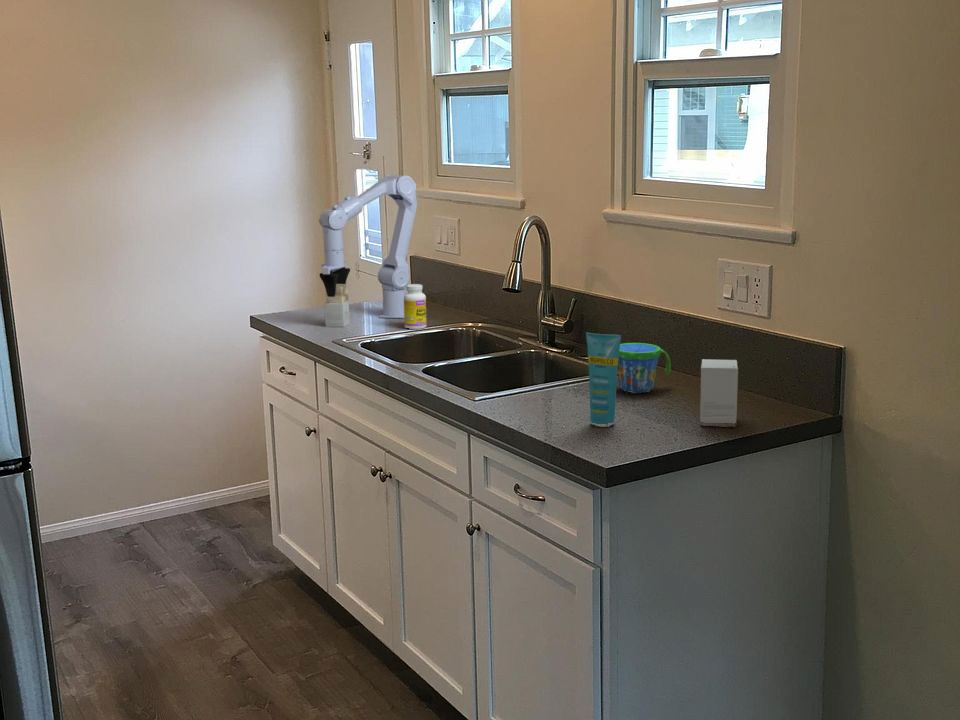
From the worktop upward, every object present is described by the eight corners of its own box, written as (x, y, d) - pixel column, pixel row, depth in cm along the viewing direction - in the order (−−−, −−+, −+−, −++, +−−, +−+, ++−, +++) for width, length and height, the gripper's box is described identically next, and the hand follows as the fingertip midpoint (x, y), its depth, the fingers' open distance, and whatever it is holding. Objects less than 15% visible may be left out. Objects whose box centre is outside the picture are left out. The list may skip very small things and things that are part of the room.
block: (332, 299, 322) (332, 283, 321) (348, 300, 321) (347, 284, 320) (326, 302, 317) (325, 286, 316) (341, 303, 316) (341, 286, 315)
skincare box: (350, 323, 323) (349, 299, 321) (344, 327, 317) (343, 303, 315) (331, 323, 324) (330, 299, 322) (325, 327, 318) (323, 303, 316)
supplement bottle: (416, 330, 310) (415, 287, 307) (400, 328, 314) (398, 286, 311) (431, 326, 315) (430, 284, 312) (414, 324, 319) (413, 282, 316)
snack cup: (665, 383, 247) (666, 341, 245) (675, 395, 237) (676, 351, 234) (599, 385, 246) (599, 343, 244) (606, 397, 236) (606, 353, 234)
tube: (582, 426, 216) (582, 334, 211) (588, 419, 220) (588, 329, 215) (617, 429, 213) (618, 337, 208) (623, 422, 217) (624, 332, 213)
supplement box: (736, 418, 219) (738, 359, 216) (736, 428, 212) (738, 368, 209) (699, 416, 221) (701, 358, 218) (698, 427, 214) (700, 366, 211)
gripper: (330, 246, 323) (332, 289, 326) (311, 252, 309) (314, 298, 313) (352, 246, 321) (354, 290, 325) (334, 253, 308) (336, 298, 311)
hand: (336, 294), depth 318 cm, fingers open, 7 cm apart
